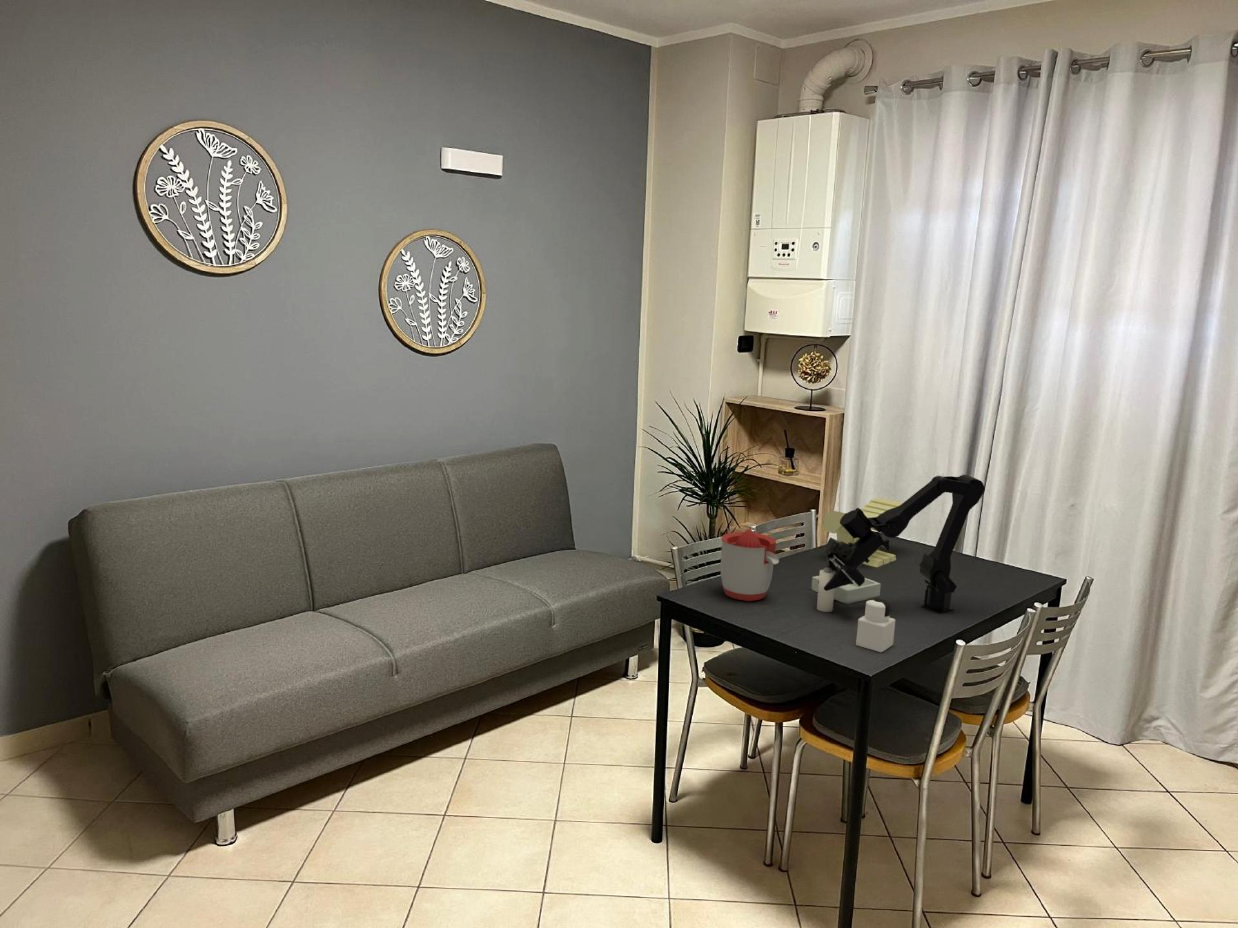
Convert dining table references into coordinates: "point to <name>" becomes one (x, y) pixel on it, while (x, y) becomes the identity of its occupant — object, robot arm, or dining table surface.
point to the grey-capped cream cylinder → (824, 596)
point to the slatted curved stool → (871, 510)
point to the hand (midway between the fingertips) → (821, 586)
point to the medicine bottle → (876, 626)
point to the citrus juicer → (747, 564)
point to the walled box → (852, 591)
